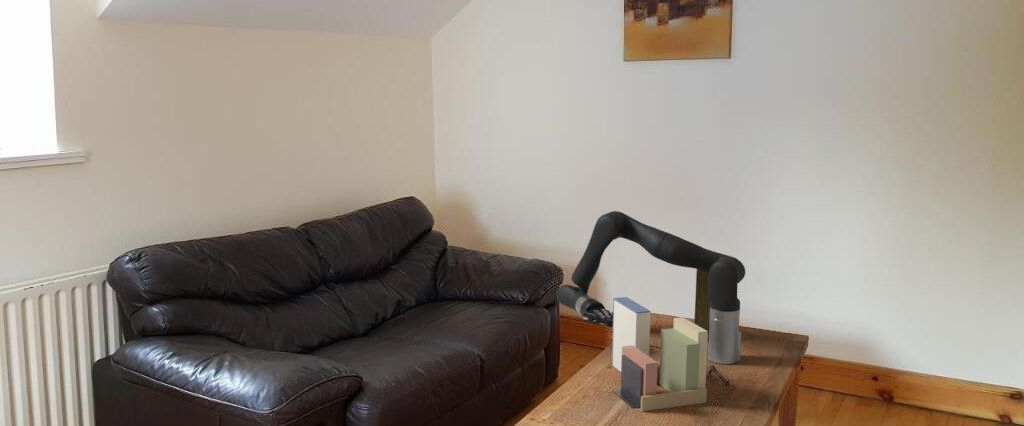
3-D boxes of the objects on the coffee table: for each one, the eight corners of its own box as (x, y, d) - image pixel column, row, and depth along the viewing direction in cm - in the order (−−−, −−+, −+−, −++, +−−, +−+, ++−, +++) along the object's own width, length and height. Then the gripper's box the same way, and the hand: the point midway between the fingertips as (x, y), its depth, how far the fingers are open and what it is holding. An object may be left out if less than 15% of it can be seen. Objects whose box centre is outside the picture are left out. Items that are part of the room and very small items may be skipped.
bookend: (623, 390, 249) (624, 354, 247) (642, 406, 237) (643, 368, 235) (613, 392, 248) (614, 355, 246) (631, 408, 236) (632, 370, 234)
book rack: (680, 381, 256) (682, 317, 253) (709, 402, 241) (712, 333, 237) (616, 389, 250) (618, 323, 246) (642, 411, 234) (644, 341, 231)
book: (694, 325, 310) (696, 258, 306) (709, 326, 309) (712, 259, 305) (694, 339, 294) (697, 269, 290) (710, 341, 293) (713, 270, 289)
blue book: (624, 364, 271) (626, 296, 267) (648, 381, 256) (650, 311, 252) (611, 365, 269) (613, 298, 265) (634, 383, 254) (636, 312, 250)
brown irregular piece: (707, 373, 261) (712, 362, 259) (725, 391, 255) (730, 379, 253) (703, 374, 260) (708, 363, 258) (720, 392, 254) (726, 380, 252)
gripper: (572, 299, 286) (592, 314, 270) (608, 296, 290) (630, 311, 274) (571, 321, 288) (592, 337, 271) (607, 318, 292) (629, 333, 276)
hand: (611, 324), depth 273 cm, fingers closed
